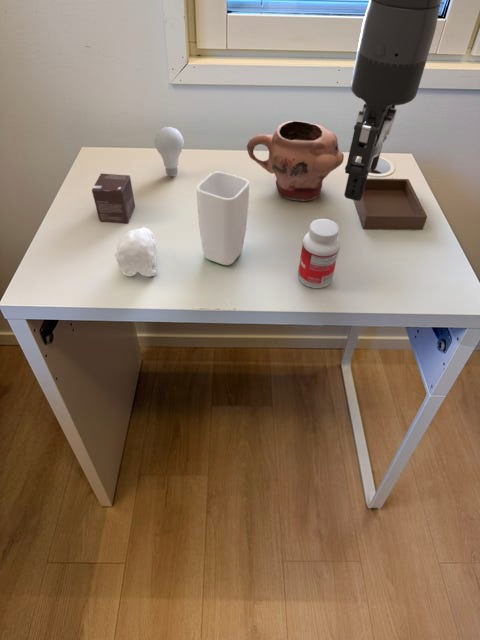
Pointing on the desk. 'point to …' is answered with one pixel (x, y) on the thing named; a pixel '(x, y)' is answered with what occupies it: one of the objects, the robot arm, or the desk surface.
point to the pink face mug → (299, 158)
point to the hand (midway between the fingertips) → (360, 182)
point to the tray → (390, 205)
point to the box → (114, 197)
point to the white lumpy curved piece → (137, 252)
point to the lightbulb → (169, 148)
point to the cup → (222, 215)
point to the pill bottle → (319, 254)
